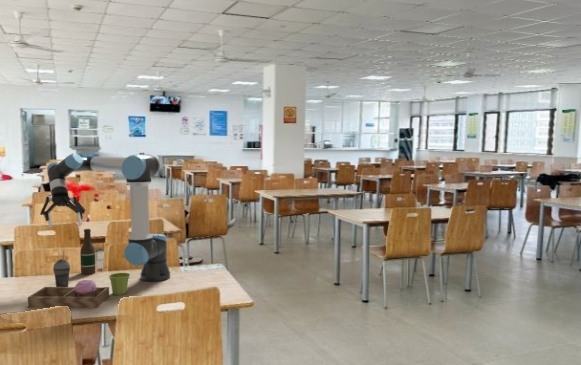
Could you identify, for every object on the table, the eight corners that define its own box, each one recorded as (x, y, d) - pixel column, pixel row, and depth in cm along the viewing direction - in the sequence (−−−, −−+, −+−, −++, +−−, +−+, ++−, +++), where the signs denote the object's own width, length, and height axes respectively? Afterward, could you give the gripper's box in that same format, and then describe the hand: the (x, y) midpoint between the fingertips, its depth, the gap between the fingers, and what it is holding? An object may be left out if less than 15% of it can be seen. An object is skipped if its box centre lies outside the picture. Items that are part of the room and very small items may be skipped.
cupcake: (70, 303, 214) (70, 281, 213) (85, 298, 222) (85, 276, 221) (86, 306, 210) (86, 283, 210) (101, 300, 219) (100, 278, 218)
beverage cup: (57, 290, 233) (56, 248, 231) (73, 289, 234) (72, 248, 232) (51, 294, 226) (50, 252, 224) (67, 294, 226) (66, 252, 225)
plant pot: (108, 291, 232) (108, 273, 231) (129, 289, 235) (129, 271, 235) (109, 297, 223) (108, 278, 223) (130, 295, 227) (130, 276, 226)
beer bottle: (98, 273, 264) (97, 229, 262) (84, 276, 258) (83, 231, 256) (92, 270, 269) (91, 227, 267) (77, 273, 263) (76, 229, 261)
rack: (109, 296, 224) (109, 287, 223) (97, 307, 209) (96, 297, 208) (45, 296, 223) (44, 286, 223) (28, 307, 208) (27, 297, 208)
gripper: (83, 194, 257) (90, 228, 247) (30, 194, 241) (35, 230, 231) (86, 185, 252) (94, 220, 242) (33, 185, 236) (38, 222, 226)
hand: (65, 225), depth 236 cm, fingers open, 13 cm apart
